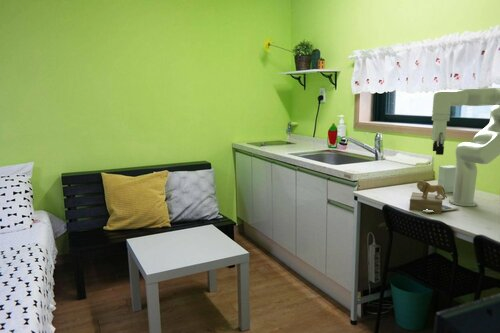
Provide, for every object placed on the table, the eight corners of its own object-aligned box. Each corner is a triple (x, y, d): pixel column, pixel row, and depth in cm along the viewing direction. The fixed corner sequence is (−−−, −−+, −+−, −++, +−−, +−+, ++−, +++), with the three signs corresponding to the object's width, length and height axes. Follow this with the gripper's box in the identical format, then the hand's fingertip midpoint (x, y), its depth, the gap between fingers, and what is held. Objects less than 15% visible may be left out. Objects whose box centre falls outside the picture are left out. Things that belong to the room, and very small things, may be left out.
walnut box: (411, 203, 201) (412, 192, 200) (441, 207, 195) (442, 195, 194) (409, 210, 189) (410, 199, 187) (440, 215, 183) (442, 202, 181)
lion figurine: (417, 199, 187) (419, 181, 185) (413, 196, 192) (415, 178, 191) (449, 200, 186) (451, 181, 184) (444, 197, 191) (446, 179, 189)
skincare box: (448, 189, 226) (451, 164, 223) (456, 192, 220) (459, 166, 217) (436, 190, 224) (438, 165, 221) (443, 193, 219) (446, 167, 216)
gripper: (429, 115, 193) (426, 149, 197) (434, 119, 177) (432, 155, 180) (446, 115, 191) (443, 150, 194) (453, 119, 175) (449, 156, 178)
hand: (437, 152), depth 187 cm, fingers open, 9 cm apart
